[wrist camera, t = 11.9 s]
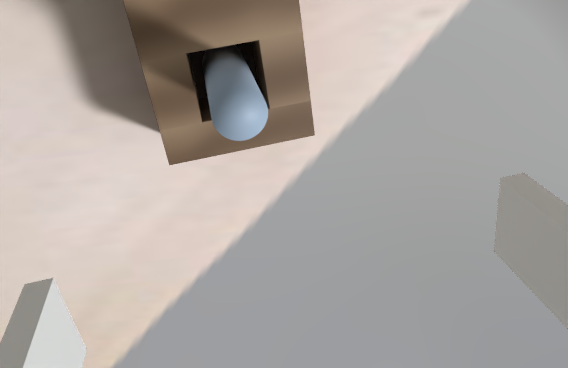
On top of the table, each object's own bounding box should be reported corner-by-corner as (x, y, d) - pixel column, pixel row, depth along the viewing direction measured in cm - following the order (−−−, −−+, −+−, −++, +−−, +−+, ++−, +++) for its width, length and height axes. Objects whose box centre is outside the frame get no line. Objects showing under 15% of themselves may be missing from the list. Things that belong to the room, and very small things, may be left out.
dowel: (217, 33, 35) (233, 75, 25) (252, 58, 36) (279, 107, 26) (194, 68, 36) (199, 121, 26) (228, 91, 37) (246, 150, 27)
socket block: (118, -52, 31) (109, -48, 27) (274, -77, 32) (289, -77, 28) (170, 136, 38) (169, 165, 33) (299, 111, 39) (314, 135, 34)
